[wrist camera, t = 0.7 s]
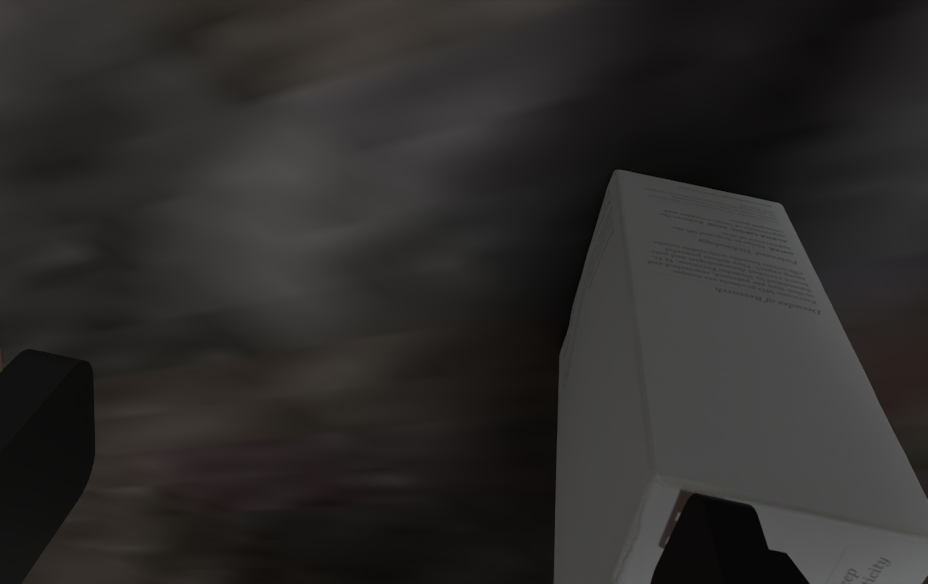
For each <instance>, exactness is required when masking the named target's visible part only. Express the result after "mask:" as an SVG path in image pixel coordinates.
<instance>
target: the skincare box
mask: <svg viewBox="0 0 928 584" xmlns="http://www.w3.org/2000/svg"><path fill="white" fill-rule="evenodd" d="M694 493H698V494H703V495H708V496H712V497H717V498H722V499H726V500H731V501H736V502H740V503H745V504H749V505H752V506H753V507H754V509H755V510H756V512H757V514H758V517H759V520H760V523H761V527H762V530H763V533H764V536H765V539H766V542H767V545H768V548H769V549H770V550H775V551H780V552H784V553H787V554H788V556H789V557H790V558H791V559H792V561H793V562H794V563H795V565H796V566H797V567H798V569H799V570H800V571H801V573H802V574H803V575H804V577H805V578H806V579H807V580H808V582H809V583H810V584H922V582H923V581H924V580H925V578H926V577H927V576H928V500H927V498H926V496H925V494H924V492H923V490H922V488H921V486H920V484H919V482H918V480H917V478H916V476H915V473H914V471H913V469H912V467H911V465H910V463H909V461H908V459H907V457H906V455H905V453H904V451H903V449H902V447H901V445H900V443H899V442H898V440H897V438H896V436H895V434H894V432H893V430H892V428H891V426H890V424H889V422H888V420H887V418H886V416H885V414H884V412H883V410H882V408H881V406H880V404H879V402H878V400H877V398H876V395H875V393H874V391H873V389H872V387H871V384H870V382H869V380H868V378H867V376H866V374H865V372H864V370H863V368H862V366H861V364H860V362H859V360H858V358H857V356H856V354H855V352H854V350H853V348H852V346H851V344H850V342H849V340H848V338H847V336H846V334H845V332H844V330H843V327H842V325H841V323H840V321H839V319H838V317H837V315H836V313H835V311H834V309H833V307H832V305H831V303H830V301H829V299H828V297H827V295H826V293H825V291H824V289H823V287H822V284H821V282H820V280H819V278H818V276H817V274H816V272H815V270H814V268H813V266H812V264H811V262H810V260H809V258H808V256H807V254H806V252H805V250H804V248H803V246H802V244H801V242H800V240H799V238H798V236H797V234H796V232H795V230H794V228H793V226H792V224H791V222H790V220H789V218H788V216H787V214H786V212H785V209H784V207H783V206H782V205H781V204H780V203H776V202H771V201H767V200H762V199H758V198H753V197H748V196H744V195H739V194H734V193H728V192H724V191H720V190H714V189H710V188H706V187H701V186H696V185H691V184H686V183H682V182H677V181H672V180H668V179H663V178H658V177H653V176H648V175H643V174H639V173H634V172H630V171H625V170H615V171H614V172H613V174H612V177H611V179H610V182H609V184H608V187H607V190H606V194H605V197H604V200H603V204H602V207H601V210H600V214H599V217H598V220H597V224H596V227H595V230H594V234H593V237H592V240H591V244H590V247H589V250H588V253H587V257H586V261H585V264H584V268H583V272H582V275H581V279H580V282H579V285H578V289H577V292H576V296H575V299H574V303H573V308H572V312H571V317H570V323H569V327H568V331H567V334H566V337H565V340H564V342H563V345H562V348H561V352H560V355H559V386H558V431H557V460H556V507H555V551H554V584H651V579H652V576H653V573H654V570H655V567H656V565H657V563H658V561H659V559H660V557H661V555H662V553H663V550H664V548H665V546H666V544H667V542H668V540H669V538H670V535H671V533H672V531H673V529H674V527H675V525H676V523H677V521H678V518H679V516H680V514H681V512H682V510H683V508H684V506H685V504H686V502H687V500H688V499H689V497H690V496H691V495H692V494H694Z"/></svg>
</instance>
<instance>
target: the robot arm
mask: <svg viewBox="0 0 928 584" xmlns="http://www.w3.org/2000/svg"><path fill="white" fill-rule="evenodd" d="M94 456H95V424H94V387H93V371H92V367H91V365H90V363H89V362H87V361H84V360H80V359H75V358H70V357H65V356H61V355H56V354H51V353H47V352H42V351H37V350H33V349H27V350H24V351H22V352H21V353H19V354H18V355H17V356H16V357H15V358H14V359H13V360H12V361H11V362H10V363H9V364H8V365H7V366H6V367H5V368H4V369H3V370H2V371H1V372H0V584H21V583H22V582H23V580H24V579H25V577H26V576H27V574H28V573H29V571H30V570H31V568H32V567H33V565H34V564H35V562H36V561H37V560H38V558H39V557H40V555H41V554H42V552H43V551H44V549H45V548H46V546H47V545H48V543H49V542H50V541H51V539H52V538H53V536H54V535H55V533H56V532H57V530H58V529H59V527H60V526H61V524H62V523H63V521H64V520H65V519H66V517H67V516H68V514H69V513H70V511H71V510H72V508H73V507H74V505H75V504H76V502H77V501H78V500H79V498H80V496H81V495H82V493H83V491H84V489H85V487H86V485H87V482H88V480H89V477H90V474H91V471H92V467H93V462H94ZM651 584H810V583H809V582H808V580H807V579H806V578H805V577H804V575H803V574H802V573H801V571H800V570H799V569H798V567H797V566H796V565H795V563H794V562H793V561H792V559H791V558H790V557H789V556H788V554H787V553H784V552H780V551H775V550H770V549H769V548H768V545H767V542H766V539H765V536H764V533H763V530H762V527H761V523H760V520H759V517H758V514H757V512H756V510H755V509H754V507H753V506H752V505H749V504H745V503H740V502H736V501H731V500H726V499H722V498H717V497H712V496H708V495H703V494H698V493H694V494H692V495H691V496H690V497H689V499H688V500H687V502H686V504H685V506H684V508H683V510H682V512H681V514H680V516H679V518H678V521H677V523H676V525H675V527H674V529H673V531H672V533H671V535H670V538H669V540H668V542H667V544H666V546H665V548H664V550H663V553H662V555H661V557H660V559H659V561H658V563H657V565H656V567H655V570H654V573H653V576H652V579H651Z"/></svg>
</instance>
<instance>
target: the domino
mask: <svg viewBox="0 0 928 584" xmlns="http://www.w3.org/2000/svg"><path fill="white" fill-rule="evenodd" d="M2 370H3V361H2V354H1V347H0V372H1V371H2Z"/></svg>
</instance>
